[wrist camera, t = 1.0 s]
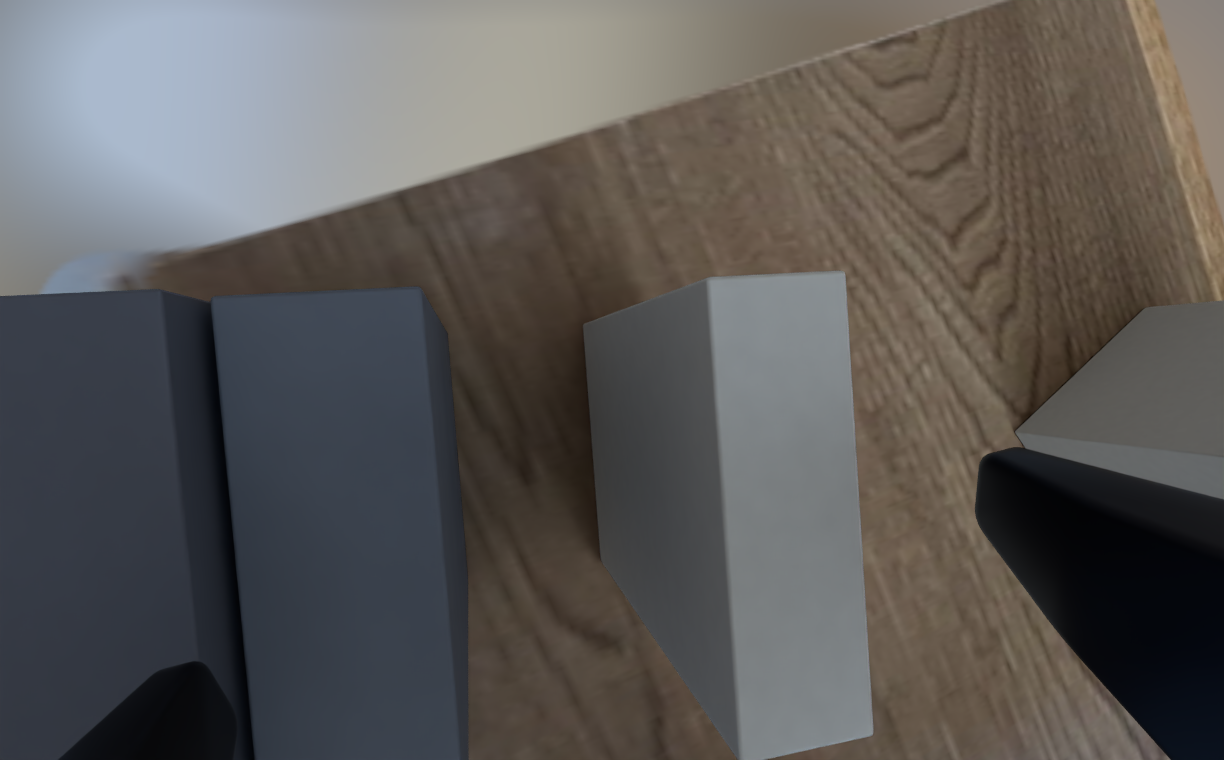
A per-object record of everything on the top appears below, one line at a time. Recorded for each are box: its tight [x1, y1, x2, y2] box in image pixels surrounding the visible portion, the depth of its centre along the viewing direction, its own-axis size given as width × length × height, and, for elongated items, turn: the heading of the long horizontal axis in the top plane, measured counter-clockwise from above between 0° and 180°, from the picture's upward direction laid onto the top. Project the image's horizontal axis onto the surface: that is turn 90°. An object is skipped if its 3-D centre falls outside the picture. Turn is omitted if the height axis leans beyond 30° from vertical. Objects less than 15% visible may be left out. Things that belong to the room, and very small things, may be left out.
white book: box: [583, 271, 873, 760], centre depth 19 cm, size 9×3×13 cm, turn 4°
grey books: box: [0, 286, 468, 760], centre depth 16 cm, size 9×6×14 cm
